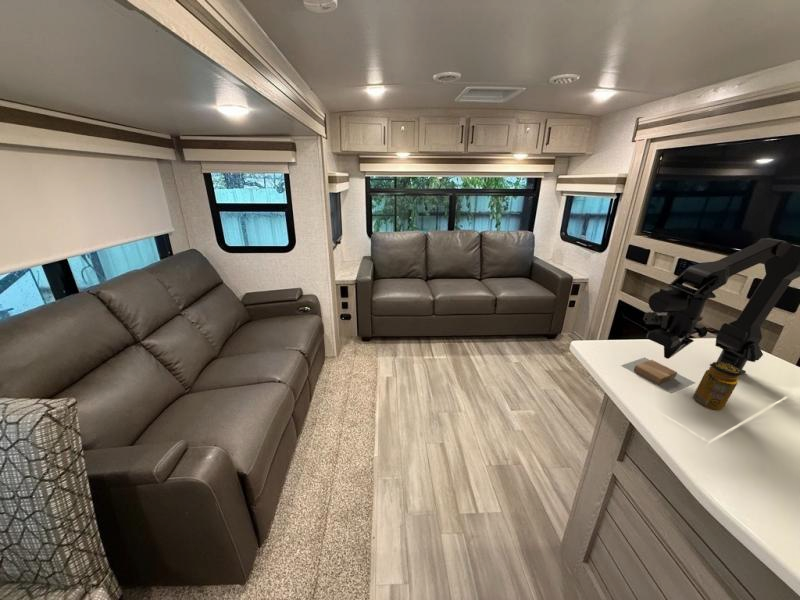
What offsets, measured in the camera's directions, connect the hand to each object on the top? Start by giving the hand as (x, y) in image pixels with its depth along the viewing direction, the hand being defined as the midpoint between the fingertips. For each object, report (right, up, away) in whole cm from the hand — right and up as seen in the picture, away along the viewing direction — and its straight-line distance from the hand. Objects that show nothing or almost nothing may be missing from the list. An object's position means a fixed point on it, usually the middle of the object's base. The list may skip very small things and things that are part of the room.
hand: (666, 357), depth 92 cm
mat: (-2, -5, +1) cm, 6 cm away
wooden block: (0, -4, +2) cm, 4 cm away
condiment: (+1, -11, -10) cm, 15 cm away
